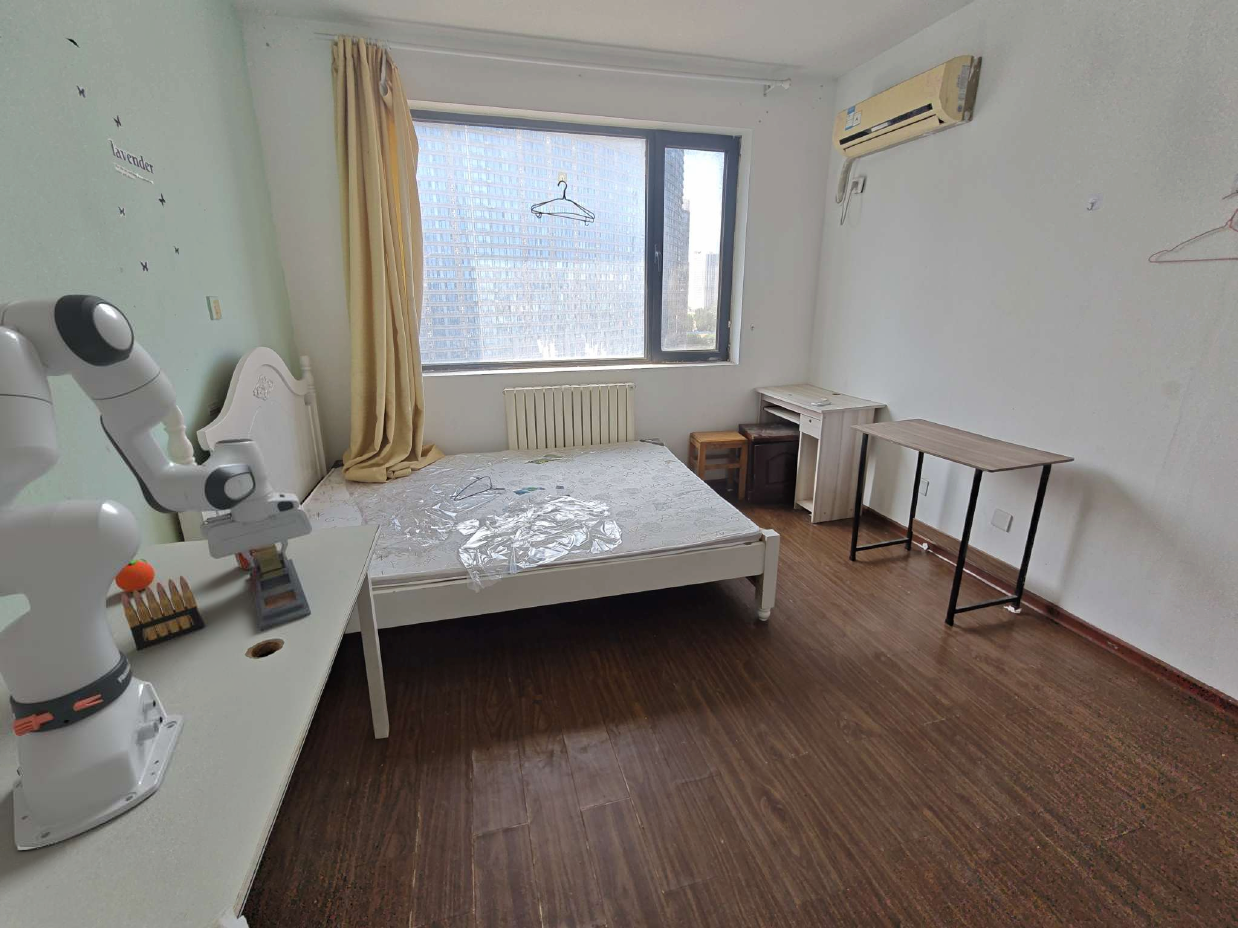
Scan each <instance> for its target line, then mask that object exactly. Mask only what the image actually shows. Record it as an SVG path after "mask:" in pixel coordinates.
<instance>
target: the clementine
mask: <svg viewBox="0 0 1238 928" xmlns="http://www.w3.org/2000/svg"><path fill="white" fill-rule="evenodd" d="M155 576H156V575H155V570H154V568H153V566H152V565H150V564H149V563H148V562H147V561H146V560H145V559H143V558H142V559H135V560H132V561H131V562H130V563H129V564H128V565H127V566H126V567H124V568H123V569H122V570H121V571H120V573H119V574H118V575H117V576H116V577H115V579H114V580H115V584H116V587H118V588H120V589H121V590H123V591H125V592H131V593H132V592H134V589H136V590H137V591H138V592H139V591H142V590H145V587H146V586H148V587H149V586H150V585H151V584H152V582H153V581H154V579H155Z"/></svg>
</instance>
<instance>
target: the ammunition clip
mask: <svg viewBox="0 0 1238 928" xmlns="http://www.w3.org/2000/svg"><path fill="white" fill-rule="evenodd" d="M167 583H168V590H169V593H170V597H171V598H169V597H168V594H167V592H166V590H165V587H164V586H163V585H162V584H161V583H160V582H157V583H156V592H157V593H156V594H157V595H158V599H159V602H158V600H157V598H156V596H155V594H154V592H153V590H152V589H151V588H150V587H149V586H146V587H145V589H144V592H145V593H144V595H145V597H146V600H147V603H148V604H146V603H145V601H144V598H143V596H142V595H141V593H140V592H139V591H137V590H136V589H134V592H133V595H132V596H133V601H134V603H135V607H136V609H135V607H134V606H133V604H132V602H131V600H130V598H129V597H128V595H127V594H126V593H124V592H122V593H121V603H122V607H123V610H124V615H125V619H126V621H127V624H128V626H129V629H130V632H131V635H132V638H133V641H134V644H135V647H136V650H137V651H142V650H144V649H147V648H150V647H152V646H156V645H158V644H162V643H165V642H168V641H170V640H173V639H176V638H179V637H182V636H185V635H188V634H190V633H193V632H197V631H200V630H202V629H206V628H205V627H206V626H205V625H206V624H205V622H204V620H203V617H202V615H201V613H200V611H199V607H198V604H197V602H196V599H195V596H194V594H193V592H192V591H191V588H190V587H189V584H188V582H187V580H186V578H185V577H184V576H183V575H180V577H179V585H180V589H181V593H182V595H181V594H180V592H179V590H178V588H177V585H176V584H175V582H174V581H173V580H172V579H171V578H169V579H168V581H167ZM147 605H148V606H147Z"/></svg>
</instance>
